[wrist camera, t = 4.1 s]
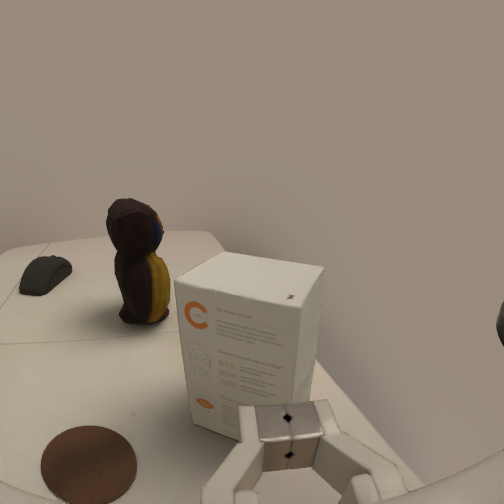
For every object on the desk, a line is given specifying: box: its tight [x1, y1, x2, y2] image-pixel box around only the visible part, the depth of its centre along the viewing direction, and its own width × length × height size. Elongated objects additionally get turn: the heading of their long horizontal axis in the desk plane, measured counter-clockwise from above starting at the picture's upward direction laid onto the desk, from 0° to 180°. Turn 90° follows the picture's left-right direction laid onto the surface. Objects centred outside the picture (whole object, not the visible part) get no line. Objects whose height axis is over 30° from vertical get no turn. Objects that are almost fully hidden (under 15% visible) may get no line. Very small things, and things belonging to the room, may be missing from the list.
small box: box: [174, 251, 325, 440], centre depth 22 cm, size 8×6×13 cm
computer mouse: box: [19, 255, 72, 296], centre depth 47 cm, size 6×11×4 cm, turn 0°
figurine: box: [106, 198, 170, 324], centre depth 37 cm, size 10×7×15 cm
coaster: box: [41, 426, 137, 504], centre depth 18 cm, size 8×8×1 cm
